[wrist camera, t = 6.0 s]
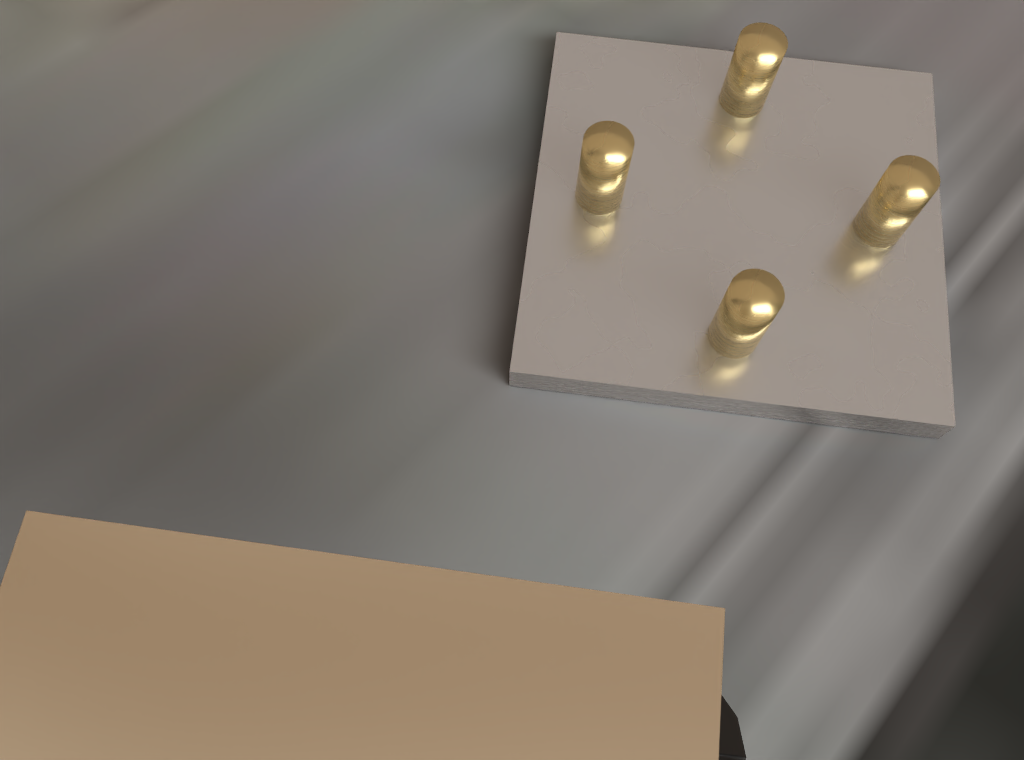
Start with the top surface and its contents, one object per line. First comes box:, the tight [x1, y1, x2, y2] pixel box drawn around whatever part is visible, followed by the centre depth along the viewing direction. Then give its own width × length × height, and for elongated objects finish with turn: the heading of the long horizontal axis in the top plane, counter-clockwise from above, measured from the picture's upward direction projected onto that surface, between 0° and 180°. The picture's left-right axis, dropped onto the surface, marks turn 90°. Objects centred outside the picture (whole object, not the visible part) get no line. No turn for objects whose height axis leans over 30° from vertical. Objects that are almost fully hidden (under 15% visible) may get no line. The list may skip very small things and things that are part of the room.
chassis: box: [509, 23, 955, 439], centre depth 26 cm, size 12×12×4 cm
